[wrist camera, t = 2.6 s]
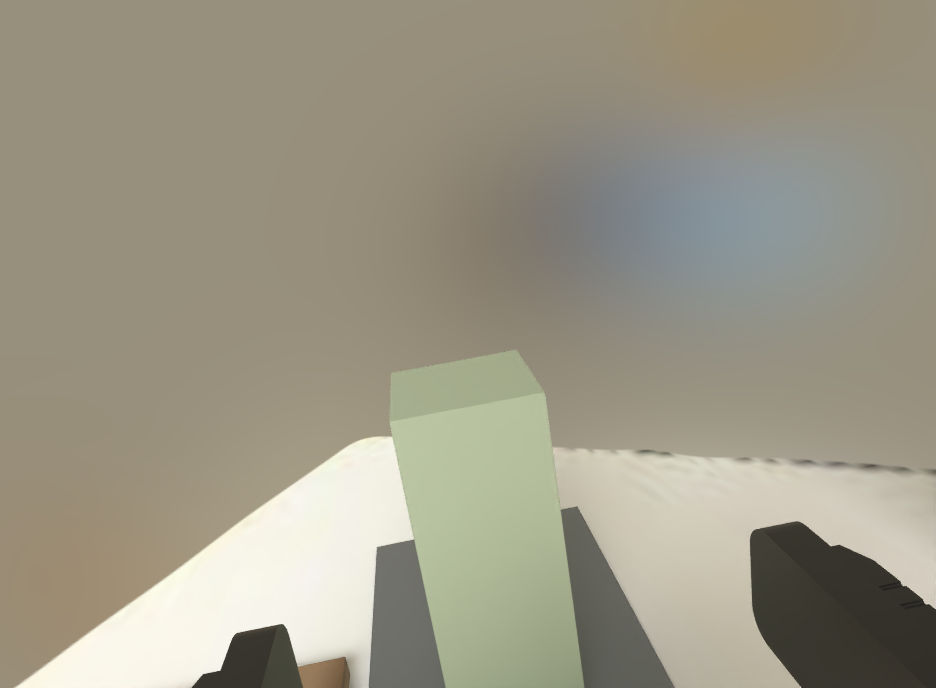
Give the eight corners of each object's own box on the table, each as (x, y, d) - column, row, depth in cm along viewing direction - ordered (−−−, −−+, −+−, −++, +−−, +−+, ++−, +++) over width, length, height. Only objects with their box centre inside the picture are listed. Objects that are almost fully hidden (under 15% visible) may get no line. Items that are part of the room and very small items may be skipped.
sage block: (554, 615, 31) (516, 349, 27) (587, 706, 26) (544, 392, 22) (446, 639, 31) (391, 373, 27) (455, 736, 25) (389, 421, 21)
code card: (577, 507, 40) (577, 505, 40) (699, 736, 24) (699, 734, 24) (377, 548, 39) (377, 546, 39) (362, 813, 23) (361, 811, 23)
